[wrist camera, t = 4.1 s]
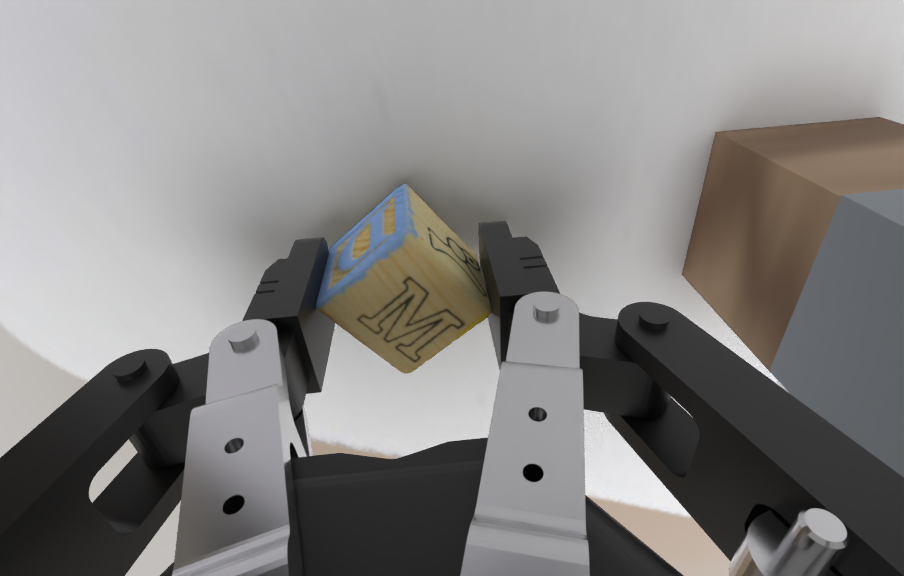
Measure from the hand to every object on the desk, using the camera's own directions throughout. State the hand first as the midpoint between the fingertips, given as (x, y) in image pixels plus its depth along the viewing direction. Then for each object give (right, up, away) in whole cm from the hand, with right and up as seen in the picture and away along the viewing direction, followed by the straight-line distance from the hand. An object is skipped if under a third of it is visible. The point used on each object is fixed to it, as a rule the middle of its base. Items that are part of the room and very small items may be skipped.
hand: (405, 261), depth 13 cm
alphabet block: (0, 0, +1) cm, 1 cm away
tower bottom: (+12, +2, +2) cm, 12 cm away
